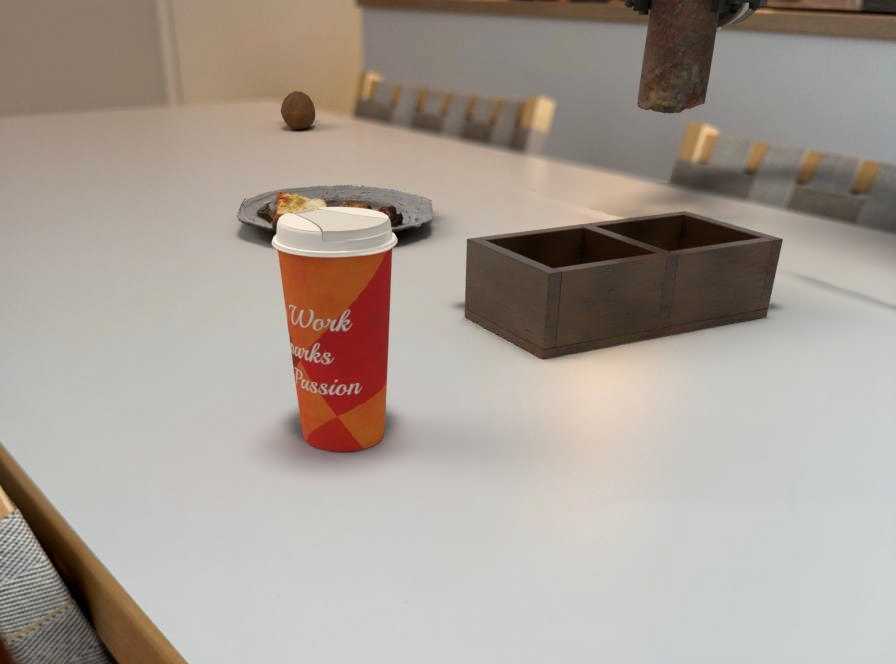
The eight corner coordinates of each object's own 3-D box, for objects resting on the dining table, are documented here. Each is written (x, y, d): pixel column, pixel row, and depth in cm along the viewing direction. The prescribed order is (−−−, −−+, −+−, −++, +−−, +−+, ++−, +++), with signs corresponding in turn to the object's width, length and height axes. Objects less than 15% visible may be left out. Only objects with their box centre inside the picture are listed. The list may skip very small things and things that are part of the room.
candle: (715, 111, 107) (750, -115, 96) (691, 119, 103) (724, -119, 91) (651, 107, 111) (677, -112, 99) (625, 114, 106) (649, -115, 94)
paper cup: (265, 433, 66) (244, 216, 58) (352, 405, 70) (344, 199, 62) (334, 470, 61) (322, 239, 53) (423, 437, 66) (424, 219, 57)
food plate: (435, 252, 107) (435, 218, 105) (227, 252, 107) (223, 218, 105) (430, 205, 127) (430, 176, 125) (255, 205, 127) (253, 176, 125)
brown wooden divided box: (674, 282, 97) (685, 210, 93) (766, 317, 88) (783, 238, 84) (464, 316, 88) (466, 238, 84) (542, 359, 78) (549, 273, 74)
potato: (280, 132, 181) (277, 94, 177) (283, 125, 189) (280, 88, 185) (315, 132, 181) (313, 94, 178) (316, 124, 189) (314, 88, 186)
